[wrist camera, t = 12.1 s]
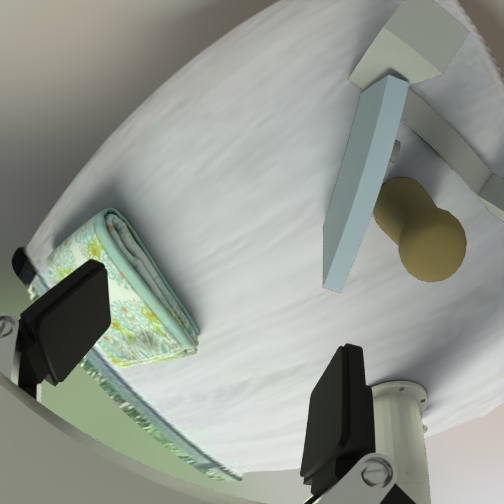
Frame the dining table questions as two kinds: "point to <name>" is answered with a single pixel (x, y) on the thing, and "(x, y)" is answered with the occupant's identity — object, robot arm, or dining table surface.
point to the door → (361, 176)
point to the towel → (129, 293)
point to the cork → (420, 230)
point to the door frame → (419, 69)
